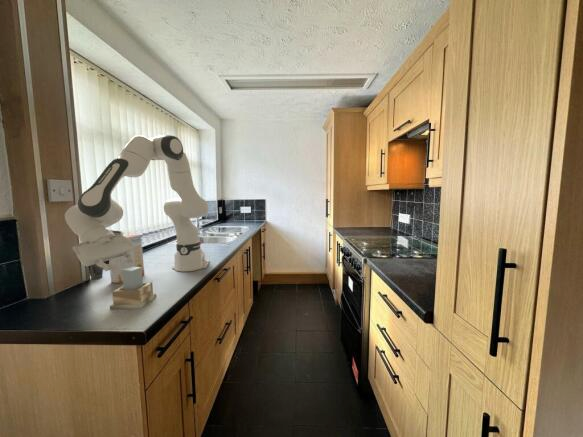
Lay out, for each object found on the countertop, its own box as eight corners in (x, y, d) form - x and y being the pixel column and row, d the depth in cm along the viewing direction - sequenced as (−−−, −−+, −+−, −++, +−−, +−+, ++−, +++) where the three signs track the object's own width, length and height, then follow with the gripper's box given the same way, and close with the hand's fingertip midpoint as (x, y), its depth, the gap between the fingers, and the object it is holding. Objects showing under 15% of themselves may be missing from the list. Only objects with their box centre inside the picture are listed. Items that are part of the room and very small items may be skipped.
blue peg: (124, 301, 96) (121, 270, 95) (134, 296, 101) (132, 266, 100) (134, 302, 95) (131, 270, 94) (143, 297, 100) (141, 267, 99)
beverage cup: (86, 278, 129) (82, 238, 127) (104, 274, 134) (100, 236, 132) (88, 281, 124) (84, 240, 122) (107, 277, 129) (103, 238, 127)
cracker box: (136, 273, 135) (132, 234, 132) (145, 274, 133) (141, 234, 131) (110, 282, 121) (106, 239, 119) (119, 283, 119) (115, 239, 117)
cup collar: (129, 296, 104) (127, 282, 103) (156, 296, 104) (155, 281, 103) (110, 309, 93) (108, 292, 92) (140, 308, 93) (139, 291, 92)
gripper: (73, 239, 89) (98, 268, 87) (125, 230, 109) (146, 254, 107) (65, 251, 90) (89, 280, 89) (117, 240, 110) (138, 264, 109)
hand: (120, 265), depth 98 cm, fingers open, 8 cm apart
